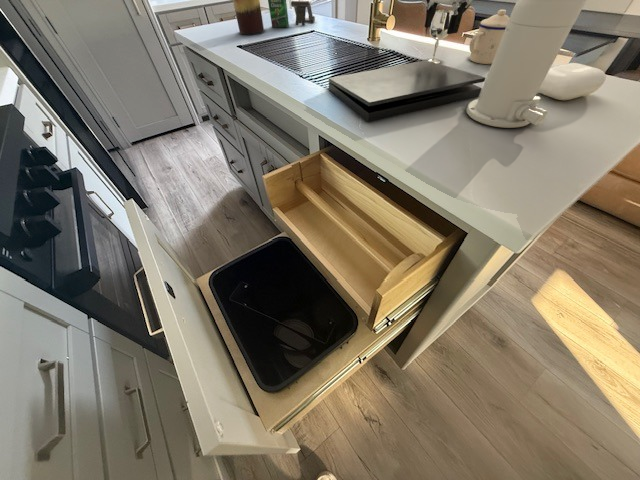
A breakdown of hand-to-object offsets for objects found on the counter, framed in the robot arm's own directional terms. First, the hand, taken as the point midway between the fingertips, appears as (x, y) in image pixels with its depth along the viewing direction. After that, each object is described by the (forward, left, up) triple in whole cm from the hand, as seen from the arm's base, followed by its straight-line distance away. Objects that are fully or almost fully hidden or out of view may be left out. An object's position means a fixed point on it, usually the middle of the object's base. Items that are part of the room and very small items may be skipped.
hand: (440, 30), depth 76 cm
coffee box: (+77, +26, -8) cm, 82 cm away
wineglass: (0, 0, -8) cm, 8 cm away
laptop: (-16, +22, -8) cm, 28 cm away
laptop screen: (-16, +22, -5) cm, 28 cm away
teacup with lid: (-6, -13, -8) cm, 16 cm away
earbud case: (-34, -10, -8) cm, 36 cm away
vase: (+74, +40, -8) cm, 85 cm away
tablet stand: (+78, +14, -8) cm, 80 cm away
